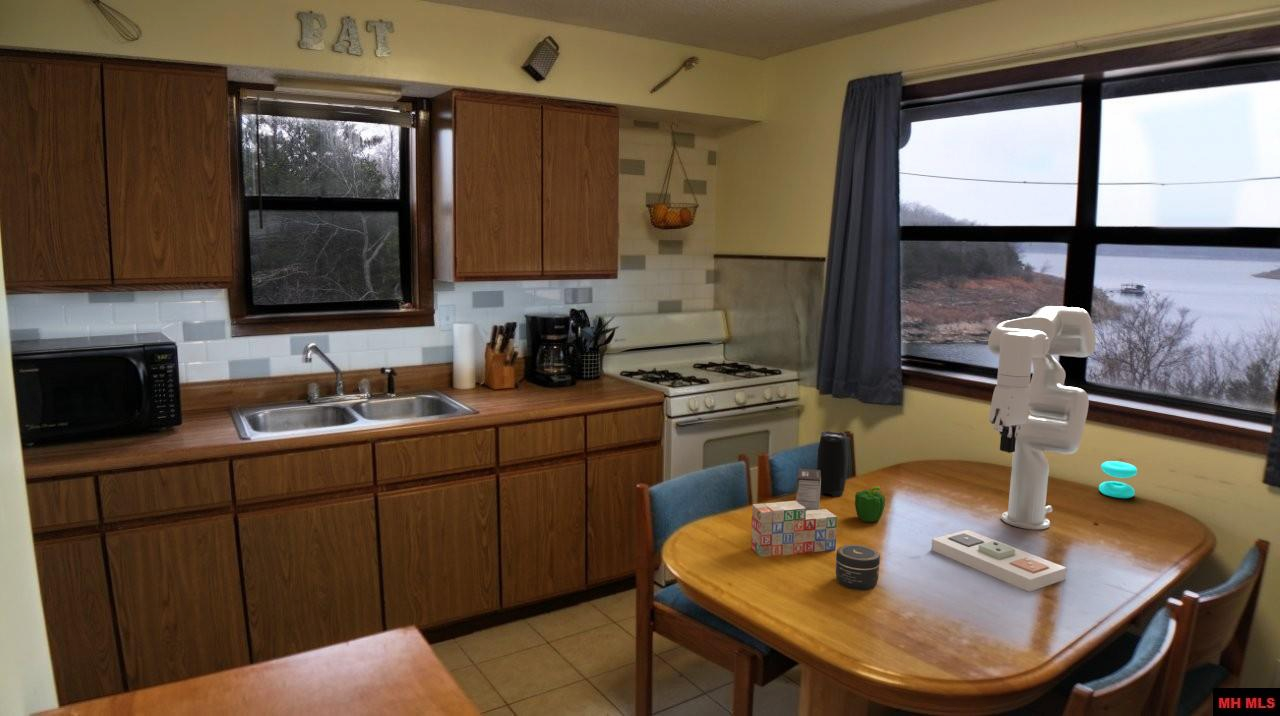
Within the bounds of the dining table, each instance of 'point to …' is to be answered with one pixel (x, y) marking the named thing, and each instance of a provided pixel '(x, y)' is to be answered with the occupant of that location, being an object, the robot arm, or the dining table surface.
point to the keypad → (999, 562)
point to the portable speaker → (832, 462)
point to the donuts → (1116, 487)
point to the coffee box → (808, 488)
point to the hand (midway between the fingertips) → (1007, 451)
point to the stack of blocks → (791, 529)
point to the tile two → (996, 550)
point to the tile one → (966, 540)
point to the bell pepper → (869, 504)
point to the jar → (857, 567)
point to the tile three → (1029, 565)
